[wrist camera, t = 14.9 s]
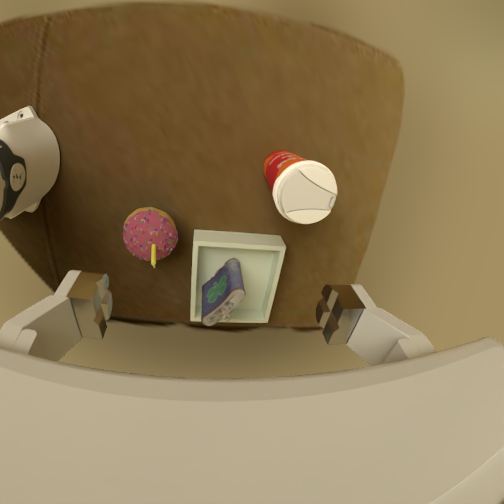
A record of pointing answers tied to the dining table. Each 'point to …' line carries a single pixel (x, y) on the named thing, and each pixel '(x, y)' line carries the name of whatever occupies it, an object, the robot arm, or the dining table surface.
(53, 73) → the dining table surface
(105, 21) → the dining table surface
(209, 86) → the dining table surface
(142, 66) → the dining table surface
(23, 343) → the robot arm
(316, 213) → the paper cup
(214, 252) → the serving bin
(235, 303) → the flask
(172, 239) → the cupcake
